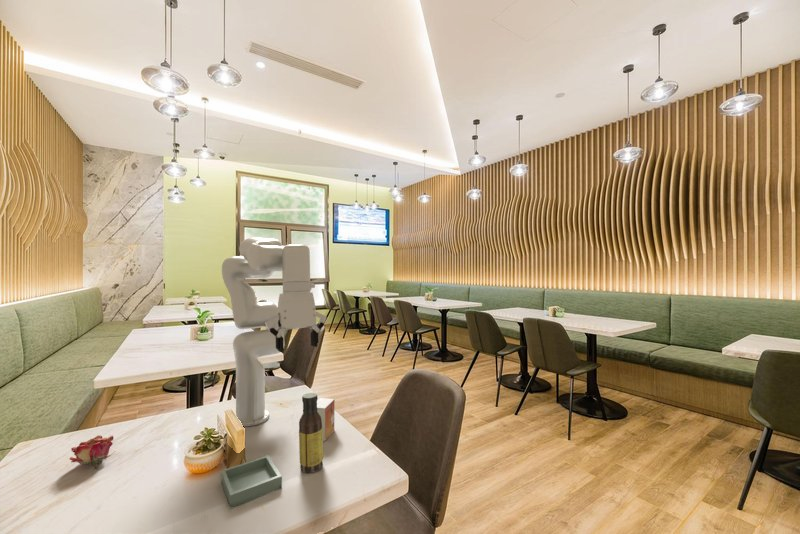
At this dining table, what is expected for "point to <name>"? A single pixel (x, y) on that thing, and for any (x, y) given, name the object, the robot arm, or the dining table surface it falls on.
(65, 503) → the dining table surface
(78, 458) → the flower
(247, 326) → the robot arm
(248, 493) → the tray
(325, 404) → the small box
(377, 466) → the dining table surface
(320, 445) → the sauce bottle
